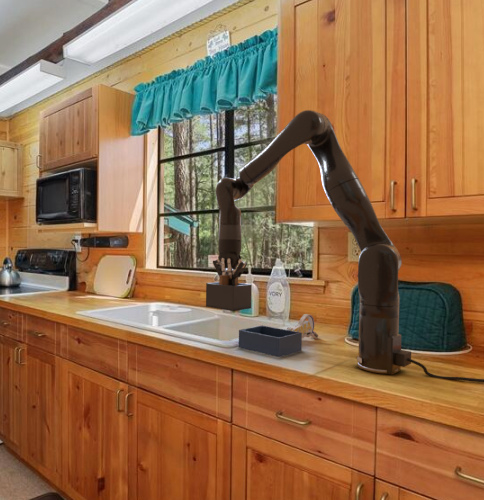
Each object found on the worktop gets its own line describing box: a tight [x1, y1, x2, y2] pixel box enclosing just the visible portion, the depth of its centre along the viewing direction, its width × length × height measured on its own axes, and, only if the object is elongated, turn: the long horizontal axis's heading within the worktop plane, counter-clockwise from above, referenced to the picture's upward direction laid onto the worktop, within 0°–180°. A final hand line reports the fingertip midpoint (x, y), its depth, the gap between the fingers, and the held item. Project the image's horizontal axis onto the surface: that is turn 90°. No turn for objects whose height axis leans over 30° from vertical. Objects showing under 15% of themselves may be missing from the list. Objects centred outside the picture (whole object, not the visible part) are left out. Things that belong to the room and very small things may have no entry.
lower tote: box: [238, 324, 303, 358], centre depth 133 cm, size 14×12×6 cm
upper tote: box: [205, 275, 253, 312], centre depth 146 cm, size 12×10×11 cm
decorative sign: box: [286, 313, 319, 340], centre depth 145 cm, size 18×1×10 cm, turn 129°
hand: (228, 289), depth 146 cm, fingers closed on upper tote, 1 cm apart
